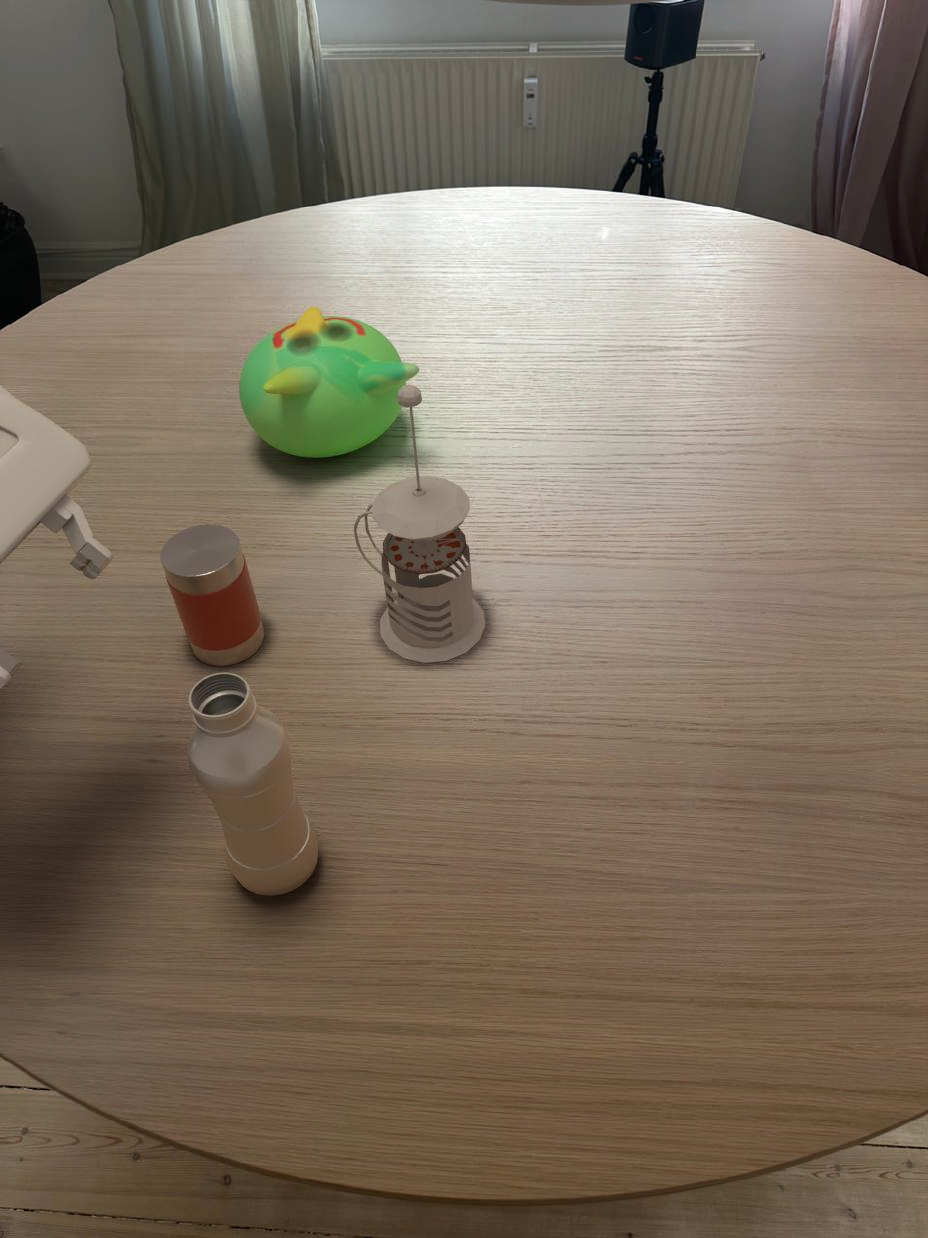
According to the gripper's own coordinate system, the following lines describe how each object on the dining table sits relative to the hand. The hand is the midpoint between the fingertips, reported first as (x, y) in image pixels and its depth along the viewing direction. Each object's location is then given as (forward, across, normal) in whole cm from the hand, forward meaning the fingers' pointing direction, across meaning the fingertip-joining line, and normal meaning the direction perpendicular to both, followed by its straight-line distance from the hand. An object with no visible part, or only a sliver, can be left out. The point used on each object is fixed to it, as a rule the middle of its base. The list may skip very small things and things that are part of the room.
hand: (60, 620), depth 59 cm
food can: (+13, -20, -21) cm, 31 cm away
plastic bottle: (+24, 0, -10) cm, 26 cm away
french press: (+25, -27, -9) cm, 38 cm away
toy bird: (+11, -51, -23) cm, 57 cm away
